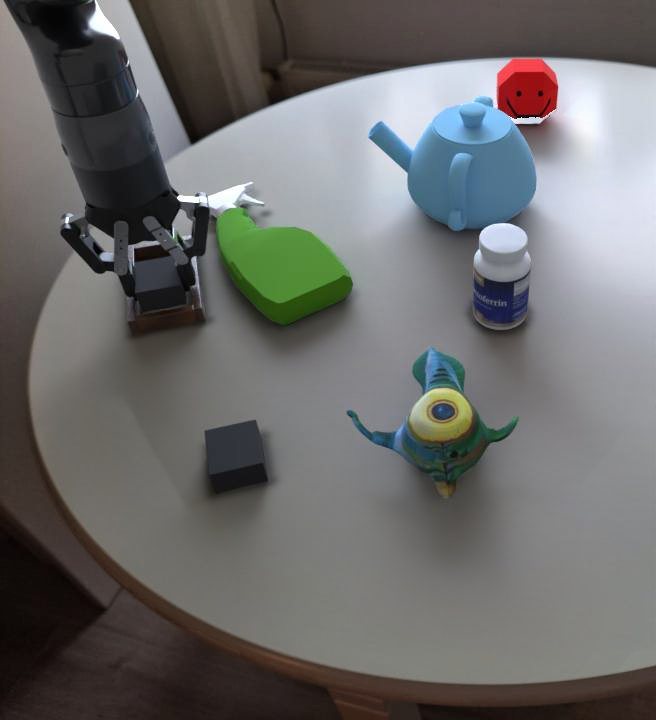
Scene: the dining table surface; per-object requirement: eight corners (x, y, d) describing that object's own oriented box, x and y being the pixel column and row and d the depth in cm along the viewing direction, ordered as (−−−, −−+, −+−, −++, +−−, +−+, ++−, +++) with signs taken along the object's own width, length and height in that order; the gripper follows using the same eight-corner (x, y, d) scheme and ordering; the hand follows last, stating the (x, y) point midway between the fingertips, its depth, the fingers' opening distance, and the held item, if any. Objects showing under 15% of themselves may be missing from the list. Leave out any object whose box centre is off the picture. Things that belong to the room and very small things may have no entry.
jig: (132, 335, 81) (127, 321, 80) (130, 258, 90) (125, 245, 88) (205, 321, 83) (201, 308, 82) (197, 247, 91) (193, 234, 90)
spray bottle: (270, 334, 81) (179, 220, 95) (364, 293, 86) (263, 190, 100) (265, 313, 79) (172, 199, 93) (361, 272, 84) (259, 169, 98)
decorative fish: (538, 433, 73) (542, 389, 69) (447, 520, 66) (446, 477, 62) (433, 365, 79) (431, 321, 75) (341, 439, 72) (333, 395, 68)
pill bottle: (461, 317, 84) (461, 240, 77) (492, 288, 87) (495, 212, 80) (507, 340, 82) (512, 263, 74) (537, 309, 85) (544, 232, 78)
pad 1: (142, 312, 81) (134, 293, 79) (141, 282, 85) (133, 262, 83) (187, 304, 82) (180, 284, 80) (184, 274, 86) (178, 254, 84)
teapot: (523, 260, 91) (530, 162, 81) (351, 239, 93) (339, 142, 84) (543, 166, 104) (551, 73, 95) (393, 150, 106) (386, 57, 97)
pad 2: (215, 493, 68) (208, 475, 66) (210, 448, 71) (204, 430, 69) (268, 481, 69) (262, 462, 67) (261, 437, 72) (256, 418, 70)
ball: (498, 132, 110) (500, 79, 104) (495, 103, 116) (496, 51, 110) (556, 132, 110) (561, 79, 105) (550, 103, 116) (555, 51, 110)
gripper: (192, 112, 75) (230, 257, 87) (27, 134, 72) (90, 281, 84) (197, 154, 70) (237, 301, 82) (20, 180, 67) (89, 329, 79)
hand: (162, 290), depth 83 cm, fingers closed on pad 1, 4 cm apart
